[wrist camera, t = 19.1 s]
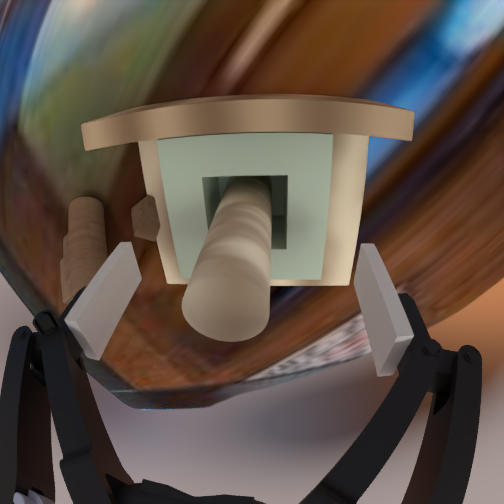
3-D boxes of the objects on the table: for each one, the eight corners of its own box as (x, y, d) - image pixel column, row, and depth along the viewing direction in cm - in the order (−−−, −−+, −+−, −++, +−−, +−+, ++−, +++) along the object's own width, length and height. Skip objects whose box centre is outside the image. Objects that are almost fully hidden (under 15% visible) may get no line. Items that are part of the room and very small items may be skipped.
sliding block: (317, 120, 23) (333, 134, 18) (312, 237, 30) (320, 279, 24) (184, 124, 24) (156, 140, 18) (198, 237, 31) (181, 278, 25)
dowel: (271, 165, 25) (269, 279, 12) (272, 206, 27) (269, 342, 14) (226, 166, 25) (173, 277, 12) (229, 206, 28) (190, 339, 14)
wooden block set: (86, 255, 38) (94, 323, 35) (36, 245, 31) (39, 321, 27) (166, 190, 31) (184, 275, 28) (104, 162, 24) (111, 263, 20)
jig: (367, 99, 23) (414, 111, 14) (347, 280, 34) (364, 343, 26) (138, 106, 24) (80, 124, 16) (169, 278, 36) (144, 338, 27)
